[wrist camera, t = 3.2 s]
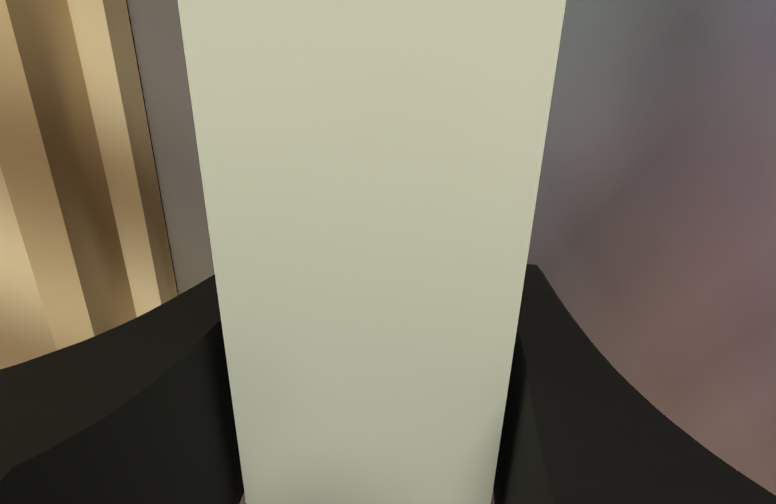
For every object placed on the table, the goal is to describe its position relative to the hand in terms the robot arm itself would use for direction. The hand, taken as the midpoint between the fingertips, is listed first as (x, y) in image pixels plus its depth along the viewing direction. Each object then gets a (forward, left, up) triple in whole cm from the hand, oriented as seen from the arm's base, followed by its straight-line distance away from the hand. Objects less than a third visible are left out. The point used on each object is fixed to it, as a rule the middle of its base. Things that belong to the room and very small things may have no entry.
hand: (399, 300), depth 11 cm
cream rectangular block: (0, 0, -1) cm, 1 cm away
